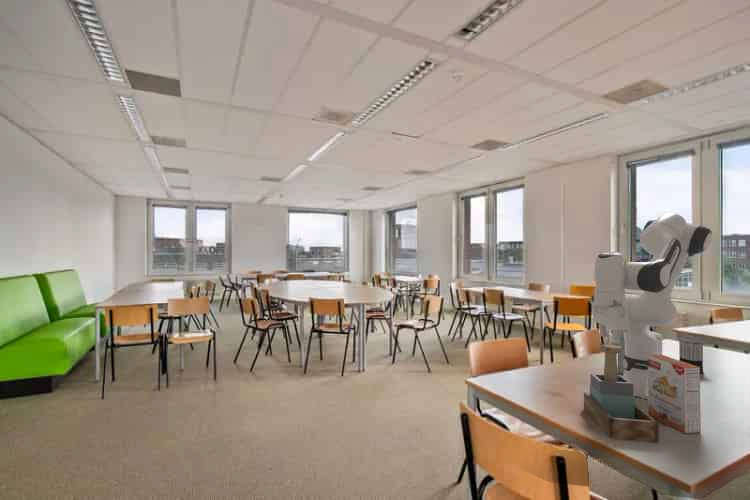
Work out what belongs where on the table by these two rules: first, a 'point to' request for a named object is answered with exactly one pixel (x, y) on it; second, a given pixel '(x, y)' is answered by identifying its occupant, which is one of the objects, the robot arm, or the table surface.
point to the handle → (610, 361)
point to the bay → (623, 423)
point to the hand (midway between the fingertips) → (609, 339)
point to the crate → (614, 396)
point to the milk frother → (691, 352)
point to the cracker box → (674, 393)
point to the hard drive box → (621, 354)
